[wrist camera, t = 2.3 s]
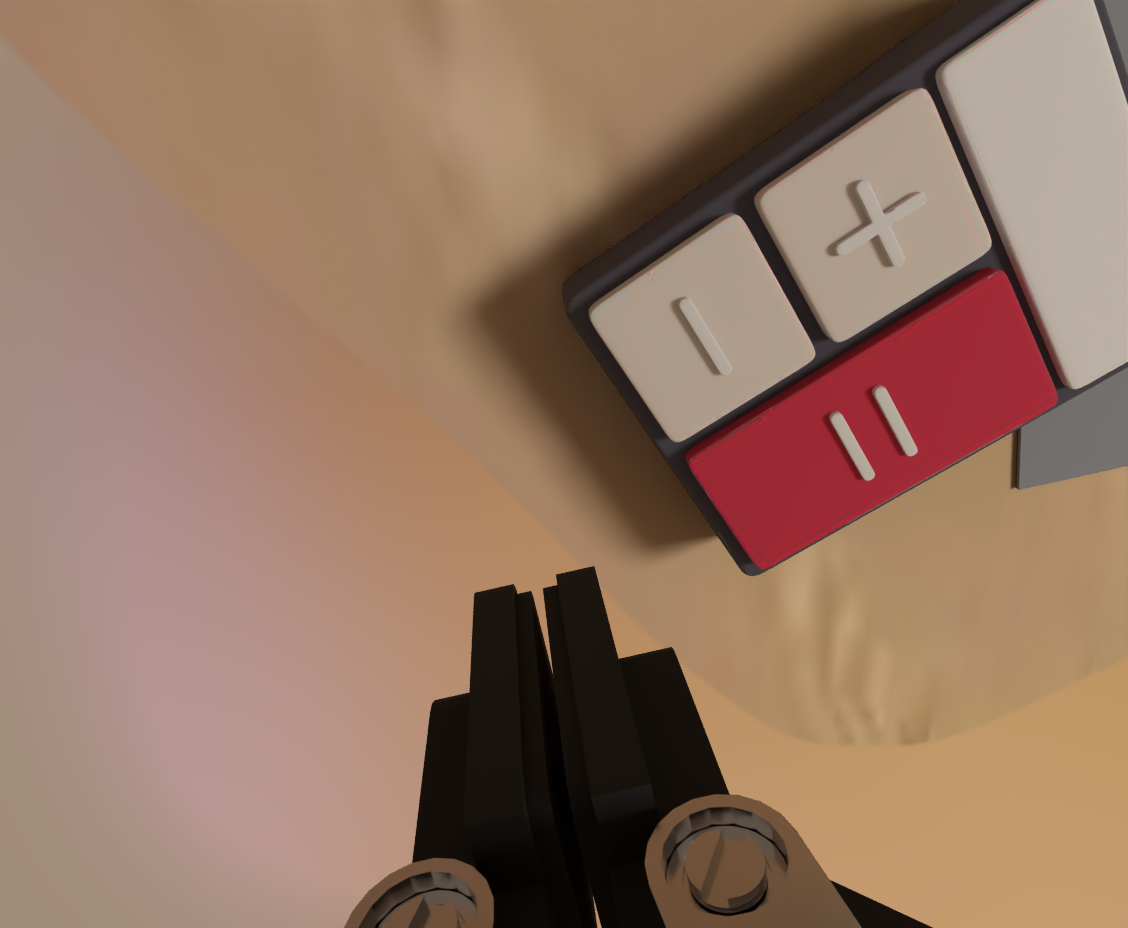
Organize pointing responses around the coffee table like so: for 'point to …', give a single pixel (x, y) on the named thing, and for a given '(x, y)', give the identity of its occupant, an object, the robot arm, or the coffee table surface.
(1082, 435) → the desk mat
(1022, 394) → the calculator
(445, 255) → the coffee table surface
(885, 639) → the coffee table surface
